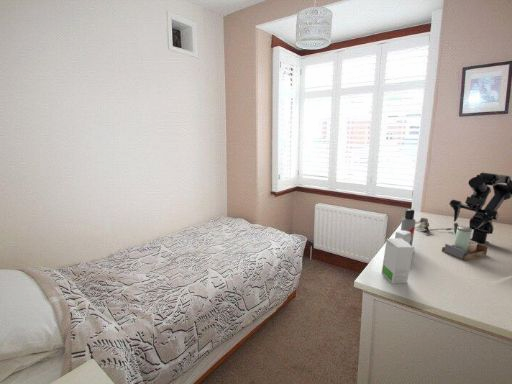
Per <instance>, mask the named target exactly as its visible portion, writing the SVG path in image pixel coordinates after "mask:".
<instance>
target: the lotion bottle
mask: <svg viewBox="0 0 512 384" xmlns="http://www.w3.org/2000/svg"><path fill="white" fill-rule="evenodd" d="M404 211H405V213H404V217H402V219H401V226H400V231H401V230H405V231H409V232H411V238H410V245H411V246H412V247H413V240H414V233H415V231H414V228H415V221H416V219H415V209H412V208H409V209H405V210H404Z"/></svg>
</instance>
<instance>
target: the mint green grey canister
mask: <svg viewBox="0 0 512 384" xmlns="http://www.w3.org/2000/svg"><path fill="white" fill-rule="evenodd" d="M472 231H473V229H471V228H469V226H465V225H464V226H463V225H458V226H457V231H456V233H455V238H454V244H453V245H454V247H456V248H458V249H461V250H464V251H465V254H464V256H466V255H467V253H468V248H469V242H470V239H471V238H472V233H473V232H472Z"/></svg>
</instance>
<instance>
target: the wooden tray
mask: <svg viewBox="0 0 512 384" xmlns="http://www.w3.org/2000/svg"><path fill="white" fill-rule="evenodd" d="M450 245H451V246H453V247H454V244H450ZM488 249H489V247H488V245H485V244H480V243H478V244H477V248H476V253H474V254H468V253H467V255H466V256H464V258H463V259H461V258H458V257H456V256H454V255H451V254H449V253H447V252H444V250H445V246H443V247H441V252H443V253H445V254H447V255H449V256H452V257H454V258H457V259H459V260H462V261H464V262H466V261H470V260H475V259H478V258H481V257H485V256H487V252H488Z"/></svg>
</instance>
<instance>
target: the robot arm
mask: <svg viewBox="0 0 512 384" xmlns="http://www.w3.org/2000/svg"><path fill="white" fill-rule="evenodd" d="M467 182H468V185H469V187H470V189H471V190H472V191H473V193H472V194H471V195H470V196H466V199H465V202H464V203H465V204H463V203H462V201H460V200H456V199H451V200H450V202H449V205H450V207H451V208H452V210H453V211H454V213H453V214H454V215H453V216H454V217H453V222H454V223H456V222H457V220H458V219H459V216H460V212H461V209H464V210H468V211H471V212H475V213H474V214H473V216H472V217H471V218H470V219H469V225H468V227H469V228H471V229H472V231H473V232H472V234H471V237H470V240H471V241H475V242H477V243H480V244H482V245H485V244H490V242H489V241H487V239H488V235H489V234H490V235H493V233H494V230H495V229H494V224H493V220H494V221H497V220H498V218H499V212H498V210H499V208H500V207H501V206H502V205H503V203H504V201H506V200H509V199H511V198H512V179H511V176H510V175H505V174H497V173H491V172H481V173H479V174H477V175H476V176H475V177H471V178H470V179H469V180H468V181H467ZM490 186H492V188H493V196H492V198H491V199H490V200H489V202H488V203H487V204H486V202H487V199H488V197H489V194H490V193H491V192H492V189H491V187H490ZM484 206H485V207H484ZM483 207H484V209H483Z"/></svg>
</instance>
